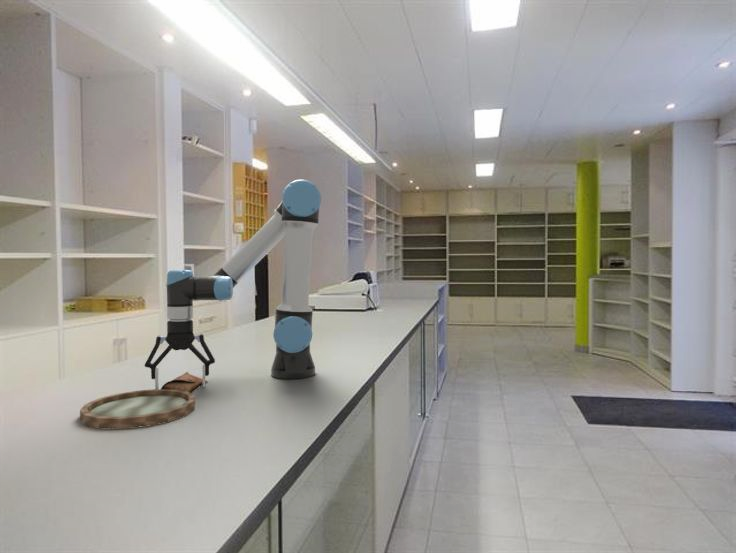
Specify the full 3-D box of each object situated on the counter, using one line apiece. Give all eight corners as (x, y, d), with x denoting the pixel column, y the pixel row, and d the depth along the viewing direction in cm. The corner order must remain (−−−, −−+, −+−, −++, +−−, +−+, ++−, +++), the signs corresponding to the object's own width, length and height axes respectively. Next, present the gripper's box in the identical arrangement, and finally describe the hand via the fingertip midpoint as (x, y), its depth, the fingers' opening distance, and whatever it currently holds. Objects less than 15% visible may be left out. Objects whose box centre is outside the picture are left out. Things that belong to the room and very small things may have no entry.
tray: (196, 394, 150) (196, 386, 150) (193, 422, 124) (193, 412, 124) (94, 402, 142) (94, 393, 142) (68, 434, 116) (68, 423, 116)
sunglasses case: (188, 395, 149) (176, 376, 149) (168, 408, 149) (156, 388, 149) (209, 381, 167) (198, 363, 167) (191, 392, 167) (180, 374, 167)
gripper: (221, 317, 164) (222, 382, 165) (137, 319, 157) (138, 387, 158) (222, 319, 157) (223, 387, 158) (134, 322, 150) (135, 393, 151)
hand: (180, 388), depth 158 cm, fingers open, 13 cm apart
